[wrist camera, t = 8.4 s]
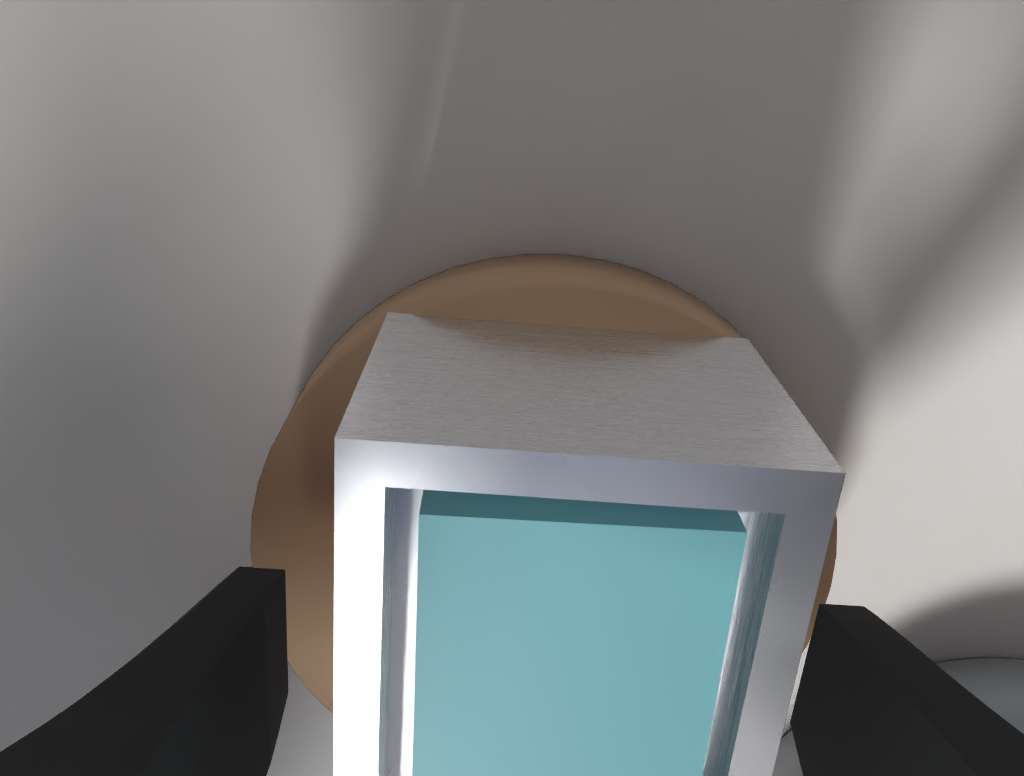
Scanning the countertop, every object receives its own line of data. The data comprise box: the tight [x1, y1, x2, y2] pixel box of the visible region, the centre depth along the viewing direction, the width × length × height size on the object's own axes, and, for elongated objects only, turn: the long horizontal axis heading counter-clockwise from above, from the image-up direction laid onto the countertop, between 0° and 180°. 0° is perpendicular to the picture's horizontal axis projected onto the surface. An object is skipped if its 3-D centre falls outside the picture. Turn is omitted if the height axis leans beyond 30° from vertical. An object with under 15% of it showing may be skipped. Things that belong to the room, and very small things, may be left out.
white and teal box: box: [334, 312, 846, 776], centre depth 12 cm, size 8×5×4 cm, turn 176°
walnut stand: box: [251, 254, 837, 714], centre depth 15 cm, size 9×9×2 cm
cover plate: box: [412, 490, 747, 776], centre depth 11 cm, size 6×3×1 cm, turn 176°
